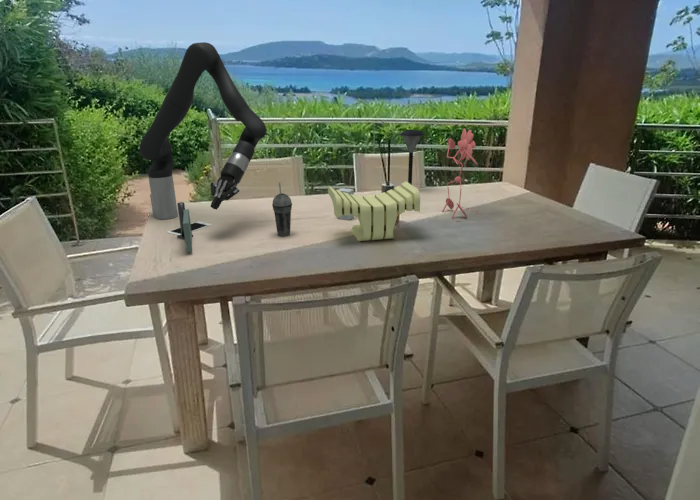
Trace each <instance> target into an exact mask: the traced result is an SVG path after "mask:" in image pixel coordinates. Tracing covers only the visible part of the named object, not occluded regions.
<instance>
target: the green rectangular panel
mask: <svg viewBox="0 0 700 500" xmlns="http://www.w3.org/2000/svg"><path fill="white" fill-rule="evenodd" d="M183 212H184V215H183V229H184V236H185V240H184V243H185V244H184V245H185V251H186V253H193V239H192V238H193V237H192V234H193V232H192V231H191V224H192V223H191V217H190V209H187V208H185V210H183Z"/></svg>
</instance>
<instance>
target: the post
mask: <svg viewBox="0 0 700 500" xmlns="http://www.w3.org/2000/svg"><path fill="white" fill-rule="evenodd" d="M176 204H177V212H178V219H179V225H180V226H179V228H180V227H181V235H178V236H177V235H176V238H177V239H181V240H184V241H185V236H184V229H183V215H184V212H183V210H186V207H185V206H186V205H185V202H182V201H180V202H176ZM193 237H194V234H193V233H192V238H193Z"/></svg>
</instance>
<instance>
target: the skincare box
mask: <svg viewBox="0 0 700 500" xmlns="http://www.w3.org/2000/svg"><path fill="white" fill-rule="evenodd" d="M337 190H339V191H341V192H342V194H343V192H344V193H348V194H349V195H350V194H352V195H355V191H354V189H353V188H343V187H342V188H341V187H340V188H338V189H337ZM354 218H355V216H353V215H352V214H350V215H347V216H345V215H344V214H342V216H341V217H338V218H336V219H339V220H346V221H351V220H353V219H354Z"/></svg>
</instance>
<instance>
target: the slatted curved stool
mask: <svg viewBox="0 0 700 500" xmlns="http://www.w3.org/2000/svg"><path fill="white" fill-rule="evenodd" d="M327 193H328V196H329V197H330V199H331V201H332V205H333V214H334V216H335V218H336V219H337V218H338V217H341V216H342V214H344V215H345V216H347V215H350V214H352V215H353V216H354V218H355V217H356V218H357V219H358V221H359V224H353V225H352V228H351V229H350V231H351V233H352V234H353V235H354V236H355V238H356V240H357V241H358V242H366V241H376V240H377V241H378V240H390V239H394V228H395V224H396V222H397V219H398V215H399V216H400V215H402V214H404V213H405V211H407V212H413V211H414V212H418V213H419V212H421V193H420V191H419V189H418V188H417V187H415V186H414V185H413V184H412V185H411V184H410V183H408V180H407V181H406V180H405V181H404V182H402V183H401V184H400V185H398V186H395V187H393V189H389V190H387V191H386V192H384V191H383V192H380V193H376V194H374V195H372V194H371V195H370V194H369V195H362V196H361V195H359V194H358V195H357V194H354V195H352V194H350V195H349V194H348V193H344V192H343V194H342V192H341V191H339V190H338V189H334V187H333V186H332V187H331V186H330V185H328V186H327Z"/></svg>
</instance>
